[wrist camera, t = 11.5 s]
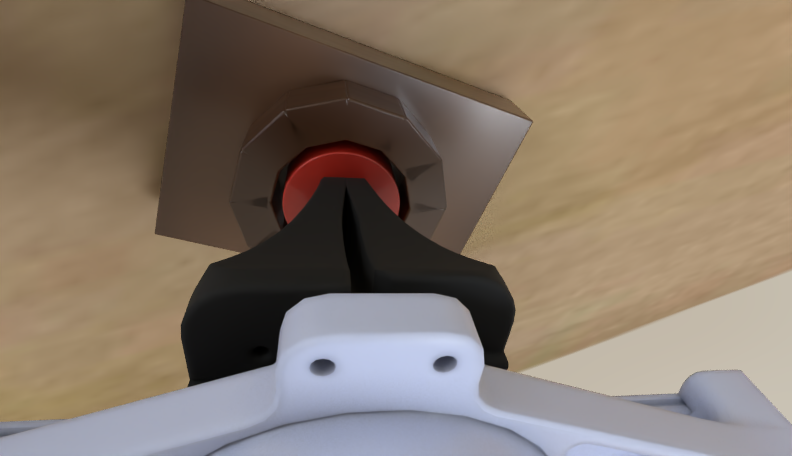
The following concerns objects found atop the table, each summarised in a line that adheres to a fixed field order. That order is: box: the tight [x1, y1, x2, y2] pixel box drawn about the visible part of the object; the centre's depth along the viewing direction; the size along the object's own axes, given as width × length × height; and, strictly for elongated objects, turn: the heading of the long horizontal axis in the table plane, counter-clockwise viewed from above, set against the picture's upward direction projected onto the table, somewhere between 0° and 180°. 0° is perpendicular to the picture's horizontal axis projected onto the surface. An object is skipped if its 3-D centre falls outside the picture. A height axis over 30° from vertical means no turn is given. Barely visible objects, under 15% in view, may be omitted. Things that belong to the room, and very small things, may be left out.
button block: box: [155, 0, 533, 254], centre depth 16 cm, size 11×8×4 cm
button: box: [282, 140, 400, 224], centre depth 15 cm, size 4×4×2 cm
